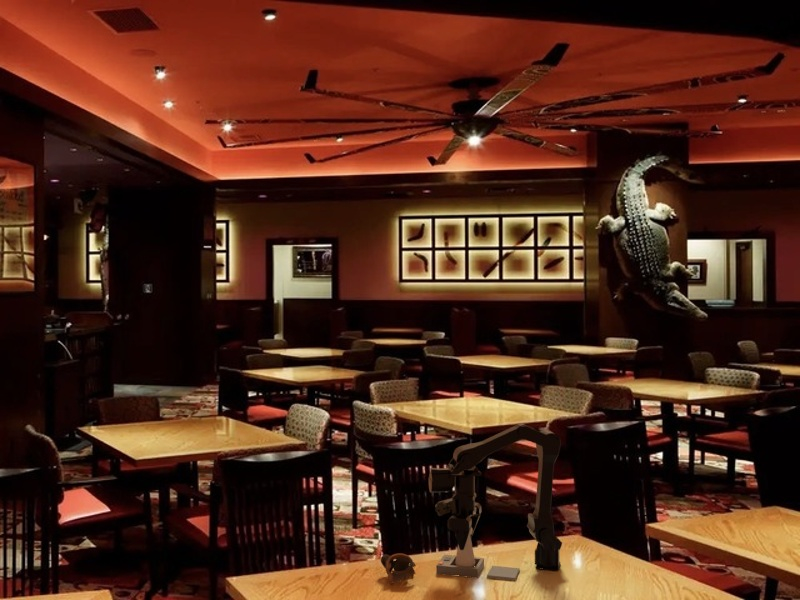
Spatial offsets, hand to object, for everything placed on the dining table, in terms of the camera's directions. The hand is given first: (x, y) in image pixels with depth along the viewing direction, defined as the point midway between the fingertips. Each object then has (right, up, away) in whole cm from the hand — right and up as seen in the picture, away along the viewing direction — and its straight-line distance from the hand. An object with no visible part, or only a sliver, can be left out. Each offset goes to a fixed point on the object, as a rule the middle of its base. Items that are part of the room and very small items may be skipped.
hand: (465, 544), depth 229 cm
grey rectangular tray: (-1, -8, 0) cm, 8 cm away
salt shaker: (0, -8, 0) cm, 8 cm away
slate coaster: (+11, -8, -3) cm, 13 cm away
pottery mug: (-20, -8, -6) cm, 22 cm away
